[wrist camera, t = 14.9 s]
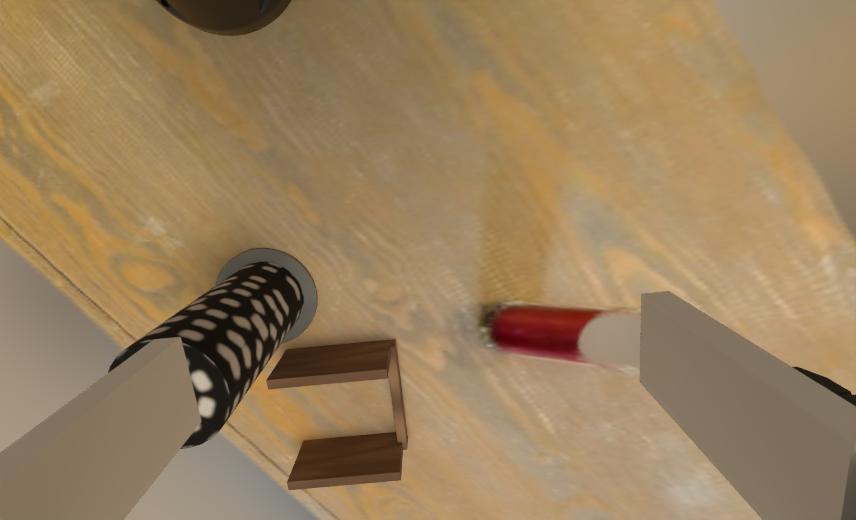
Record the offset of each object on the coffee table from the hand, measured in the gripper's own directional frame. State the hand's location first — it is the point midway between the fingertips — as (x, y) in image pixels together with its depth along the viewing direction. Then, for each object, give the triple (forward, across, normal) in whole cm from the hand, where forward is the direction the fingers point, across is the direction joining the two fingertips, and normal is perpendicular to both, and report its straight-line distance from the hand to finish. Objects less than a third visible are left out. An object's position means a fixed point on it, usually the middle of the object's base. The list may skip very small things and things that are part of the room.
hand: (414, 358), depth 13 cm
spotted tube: (+36, -18, -9) cm, 42 cm away
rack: (+37, -11, -22) cm, 44 cm away
